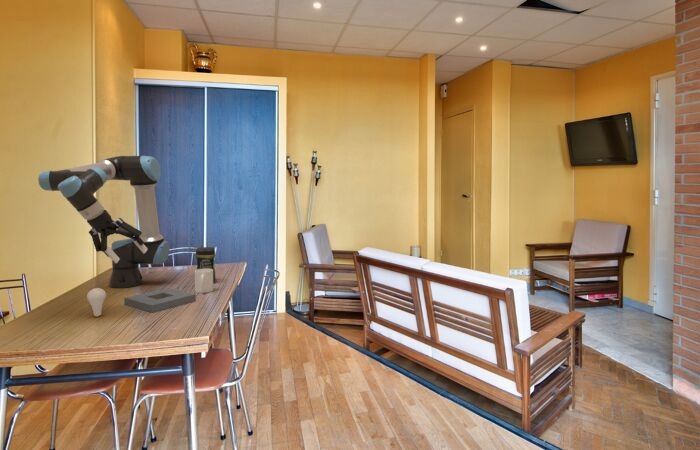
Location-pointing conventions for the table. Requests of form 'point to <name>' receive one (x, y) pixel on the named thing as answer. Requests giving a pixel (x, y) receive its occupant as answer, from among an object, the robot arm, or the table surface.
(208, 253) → the coffee jar
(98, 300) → the lightbulb
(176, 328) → the table surface
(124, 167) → the robot arm
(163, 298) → the socket plate
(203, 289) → the cup
